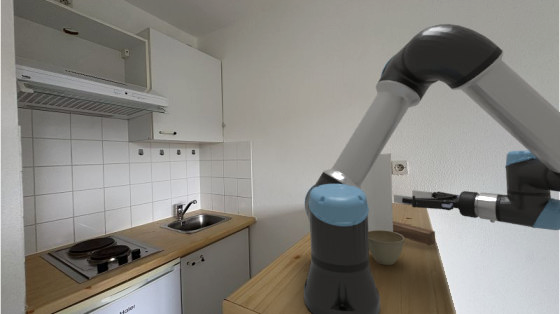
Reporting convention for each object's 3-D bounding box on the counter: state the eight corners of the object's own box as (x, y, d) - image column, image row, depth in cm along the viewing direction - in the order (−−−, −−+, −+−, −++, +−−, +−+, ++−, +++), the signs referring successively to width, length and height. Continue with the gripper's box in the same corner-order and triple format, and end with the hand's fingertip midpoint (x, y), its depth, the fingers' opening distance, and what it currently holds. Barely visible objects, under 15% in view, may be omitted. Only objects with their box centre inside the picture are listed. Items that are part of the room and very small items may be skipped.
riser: (376, 245, 74) (374, 154, 74) (342, 233, 85) (340, 154, 85) (393, 238, 80) (390, 153, 79) (359, 228, 91) (357, 154, 91)
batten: (428, 245, 73) (428, 233, 73) (366, 226, 94) (366, 217, 94) (435, 243, 75) (434, 231, 75) (373, 225, 96) (372, 215, 96)
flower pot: (367, 251, 70) (366, 228, 70) (403, 256, 65) (403, 232, 65) (363, 265, 61) (363, 239, 61) (406, 273, 56) (405, 244, 56)
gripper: (464, 227, 58) (385, 211, 76) (491, 211, 73) (419, 201, 90) (463, 198, 58) (385, 189, 76) (490, 187, 73) (419, 182, 90)
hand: (403, 195), depth 83 cm, fingers open, 13 cm apart
